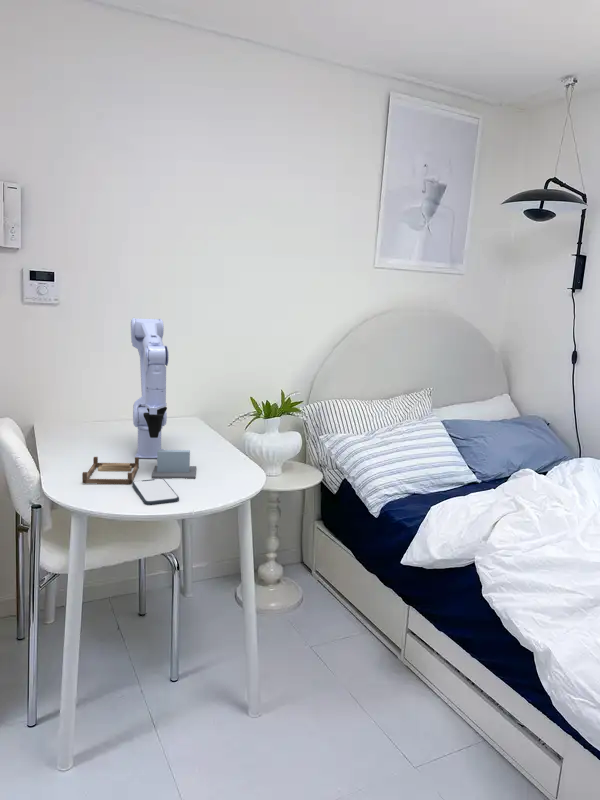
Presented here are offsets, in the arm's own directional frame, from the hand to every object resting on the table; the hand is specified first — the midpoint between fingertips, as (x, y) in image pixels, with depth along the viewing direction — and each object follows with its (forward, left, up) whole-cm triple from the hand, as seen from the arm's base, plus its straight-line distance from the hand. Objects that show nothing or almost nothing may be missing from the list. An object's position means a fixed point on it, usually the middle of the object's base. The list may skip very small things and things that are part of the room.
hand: (155, 434), depth 170 cm
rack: (+6, -11, -10) cm, 16 cm away
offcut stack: (+1, -11, -10) cm, 15 cm away
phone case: (+21, +2, -11) cm, 24 cm away
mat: (+4, +6, -10) cm, 12 cm away
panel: (+4, +6, -10) cm, 12 cm away
